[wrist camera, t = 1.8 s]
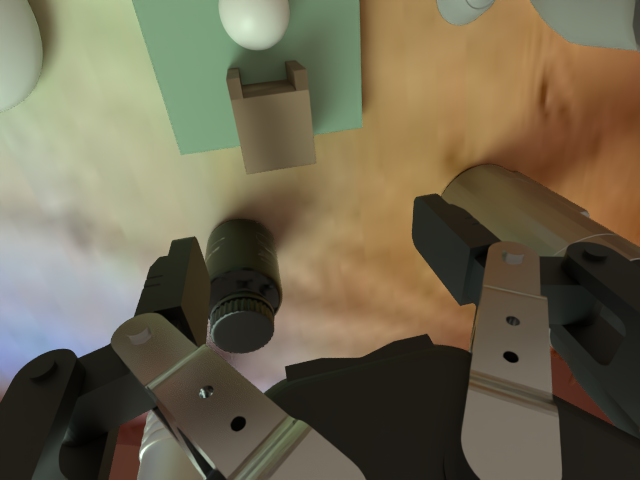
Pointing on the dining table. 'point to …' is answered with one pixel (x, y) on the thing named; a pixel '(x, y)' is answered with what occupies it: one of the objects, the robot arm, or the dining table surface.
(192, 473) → the candle
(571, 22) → the chalice
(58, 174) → the dining table surface
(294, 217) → the dining table surface
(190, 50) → the green
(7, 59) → the flower in vase
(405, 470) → the robot arm
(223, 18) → the ball
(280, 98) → the wooden channel cradle
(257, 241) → the supplement bottle
